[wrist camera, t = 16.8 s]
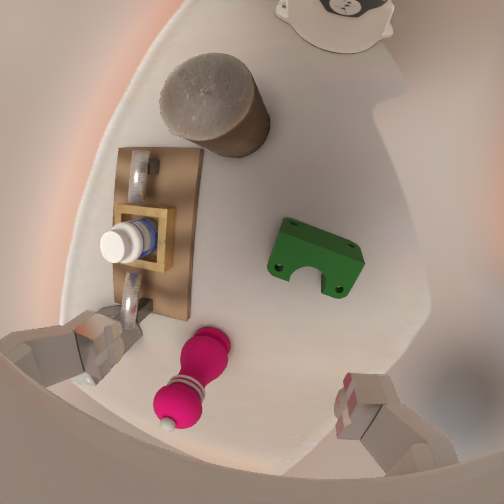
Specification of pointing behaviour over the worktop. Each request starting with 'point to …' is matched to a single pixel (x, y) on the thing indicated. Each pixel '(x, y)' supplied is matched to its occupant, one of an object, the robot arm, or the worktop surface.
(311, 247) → the clamp
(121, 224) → the pill bottle
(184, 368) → the pepper mill
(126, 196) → the shaft stand
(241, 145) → the pillar candle
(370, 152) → the worktop surface
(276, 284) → the worktop surface
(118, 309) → the skincare box
